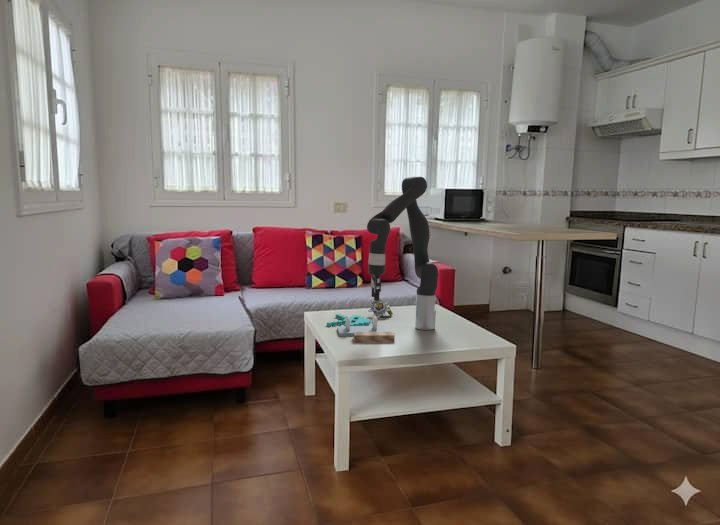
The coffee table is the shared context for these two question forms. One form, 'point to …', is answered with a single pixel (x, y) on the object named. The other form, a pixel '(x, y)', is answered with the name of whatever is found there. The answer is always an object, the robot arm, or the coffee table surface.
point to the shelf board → (374, 337)
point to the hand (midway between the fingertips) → (375, 298)
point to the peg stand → (358, 328)
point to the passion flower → (380, 308)
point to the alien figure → (354, 321)
